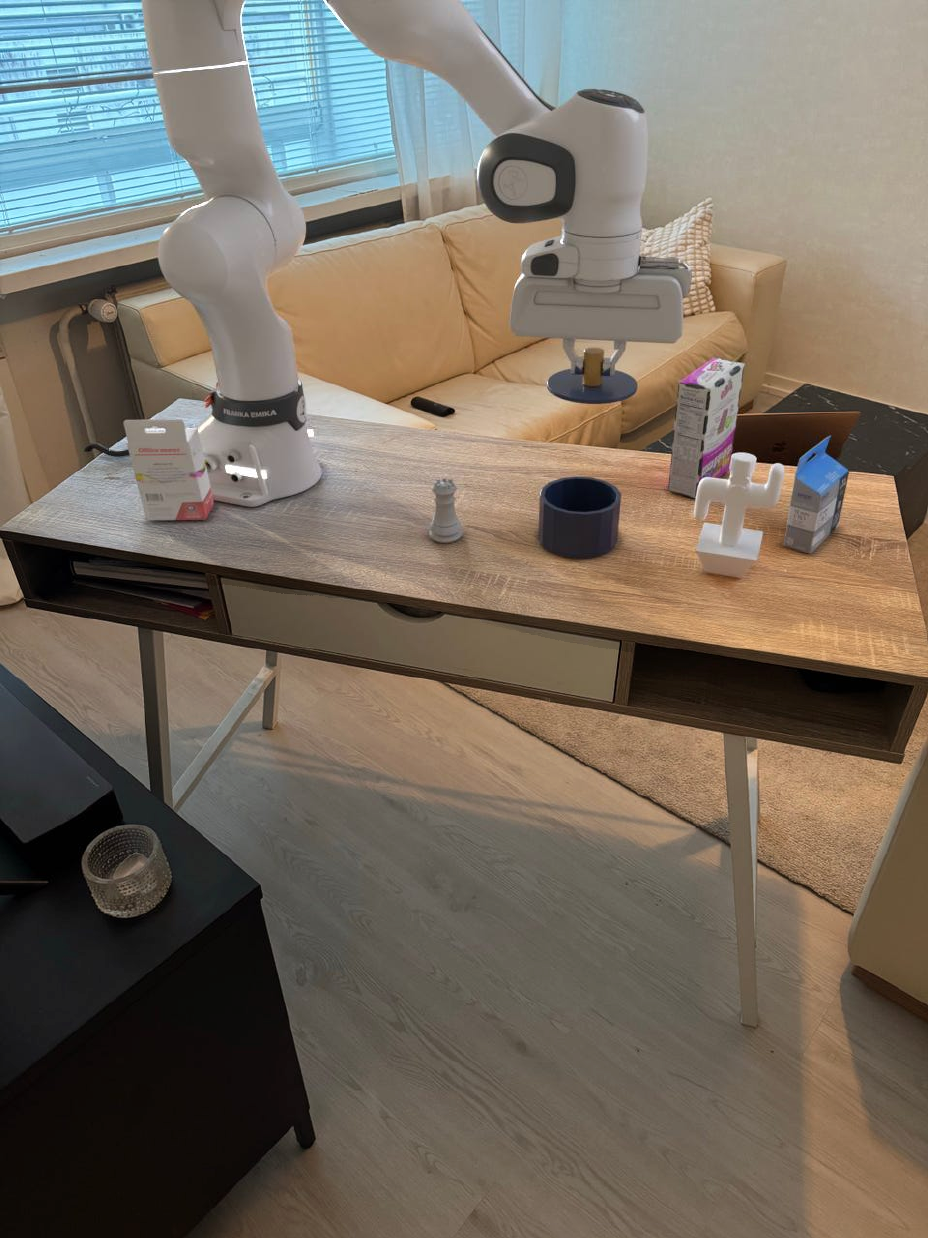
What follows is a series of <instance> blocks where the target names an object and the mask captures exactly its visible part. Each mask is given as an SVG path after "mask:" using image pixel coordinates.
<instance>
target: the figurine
mask: <svg viewBox="0 0 928 1238" xmlns="http://www.w3.org/2000/svg"><path fill="white" fill-rule="evenodd" d="M756 463H757V457H756V456H755V455H754V454H751V453H749V452H735V453H732V456H731V461H730V467H729V469H730V470H729V471H730V472H729V478H728V479H727V478H725V479H724V478H720V479H719V478H711V477H705V478H703V479H702V480H701V481H700V482H699V485H698V488H697V494H696V499H695V502H694V508H693V517H694V519H696V520H697V521H703V520H705V519H706V518H707V516H708V513H709V507H710V503H711V502H716V503H724V510H723V515H722V521H721V524H718V523H717V524H716V523H712V522H711V523H710V522H704V523H703V525H702V527H701V528H702V529H701V531H700V534H699V537H698V540H697V543H696V548H695V549H694V551H695V553H696V555H697V557H698V560H699V562H700V564H701V567H702V568H703V570H704V572H705V573H709V574H714V575H720V576H725V577H731V578H737V579H742V578H743V577H744V576H745V575H746V574H747V573H748V571H749V570H750V569H751V568H752V567H753V566H754V565H755V564H756V563H757V561H758V557H759V553H760V550H761V549H760V548H761V544H762V539H763V534H764V531H763V530H756V529H749V528H743V527H744V521H745V518H746V517H745V515H746V511H747V507H751V508H757V509H764V510H771V509H774V508H775V507H776V506H777V504H778V503H779V499H780V496H781V491H782V487H783V482H784V476H785V470H786V469H785V466H784V465H783V464H782V463H779V462H777V463H773V464H772V465H771V467H770V469H769V474H768V478H767V481H766V483H764V484H761V483H755V482H753V481H752V476H753V473H755V469H756Z"/></svg>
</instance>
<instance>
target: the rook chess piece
mask: <svg viewBox="0 0 928 1238" xmlns="http://www.w3.org/2000/svg"><path fill="white" fill-rule="evenodd" d="M457 490H458V487H457V486H456V484H455V481H454V480H453V478H450V477H449V478H448V480H447V477H442V480H441V479H440V478H437V479H436V480H435V481H434V484H433V486H432V487H431V491H432V493H434V495H435V496H434V498H433V501H434V502H435V510H434V516H433V518H432V521H431V522H430V524H429V530H430V531H429V537H430V538H431V539H432V540H433V541H434V542H436V543H439V544H452V543H455V542H457V541H459V540H460V538H462V536H463V533H464V531H463V530H462V529H463V525H462V522H461V521H460V520H459V517H458V516H457V513H456V507H455V501H456V497H455V496H454V495H455V493H456V492H457Z"/></svg>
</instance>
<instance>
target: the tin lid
mask: <svg viewBox="0 0 928 1238" xmlns="http://www.w3.org/2000/svg"><path fill="white" fill-rule="evenodd" d="M583 357H584V364H583V375H573V374H571V368H567V369H563V370H560V371H557V372H555V373H553V374H552V375H550V376H549V377H548V379H547V381H546V388H547V390H548V392H549V393H550V394H552V395H553V396H554V397H556V398H559V399H560V400H564V401H568V402H571V403H577V404H583V405H584V404H585V405H605V404H613V403H619V402H622V401H625V400H628V399H630V398H632V397H633V396H634V395H635V394H636V393H637V391H638V388H639V387H638V381H637V380H636V379H635V378H634V377H633V376H632V375H630V374H628V373H626V372H623V371H620V370H618V369H615V374H614V377H611V376H602V370H603V361H604V358H605V350H604V349H602V348H600V347H588V348H585V349H584V350H583Z"/></svg>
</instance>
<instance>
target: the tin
mask: <svg viewBox="0 0 928 1238" xmlns="http://www.w3.org/2000/svg"><path fill="white" fill-rule="evenodd" d="M621 502H622V493H621V491H620V490H619V489H618V487H617V486H615V485H614V484H613V483H610V482H608V481H607V480H603V479H601V478H600V479H599V478H595V477H592V476H579V475H577V476H576V475H575V476H567V477H560V478H558V479H555V480H552V481H549V482H547V484H545V485H544V486H543V487H541V489H540V493H539V503H538V505H539V508H538V509H539V510H538V538H539V539H538V540H539V543H540V545H541V546H542V547H543V549H545V550H546V551H548V552H549V553H551V554H553V555H555V556H559V557H562V558H566V559H573V560H574V559H575V560H586V559H587V560H588V559H595V558H599V557H601V556H604V555H607V554H609V553H610V552H611V551H613V550H614V549H615V548H616V546H617V543H618V536H619V527H620V526H619V525H620V515H621Z"/></svg>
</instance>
